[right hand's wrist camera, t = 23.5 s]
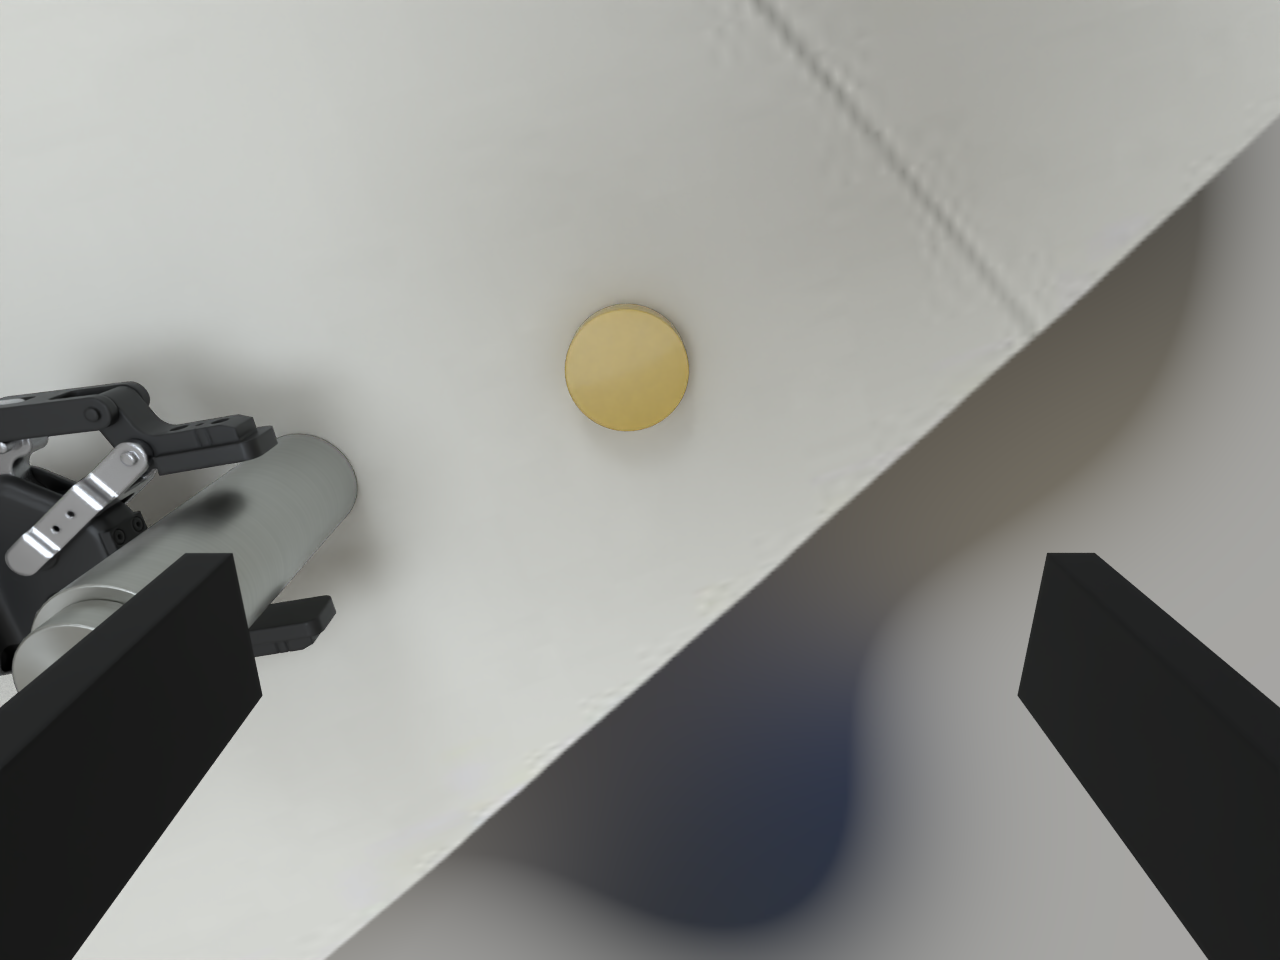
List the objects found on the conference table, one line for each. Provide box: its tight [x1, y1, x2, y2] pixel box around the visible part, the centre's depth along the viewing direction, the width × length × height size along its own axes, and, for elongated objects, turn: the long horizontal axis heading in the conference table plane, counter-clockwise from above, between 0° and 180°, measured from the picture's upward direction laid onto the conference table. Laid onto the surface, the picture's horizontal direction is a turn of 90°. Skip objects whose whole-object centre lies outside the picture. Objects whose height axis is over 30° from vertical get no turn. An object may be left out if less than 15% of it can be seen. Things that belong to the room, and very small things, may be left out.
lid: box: [565, 304, 689, 431], centre depth 34 cm, size 5×5×2 cm
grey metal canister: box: [12, 434, 357, 692], centre depth 29 cm, size 5×5×16 cm
